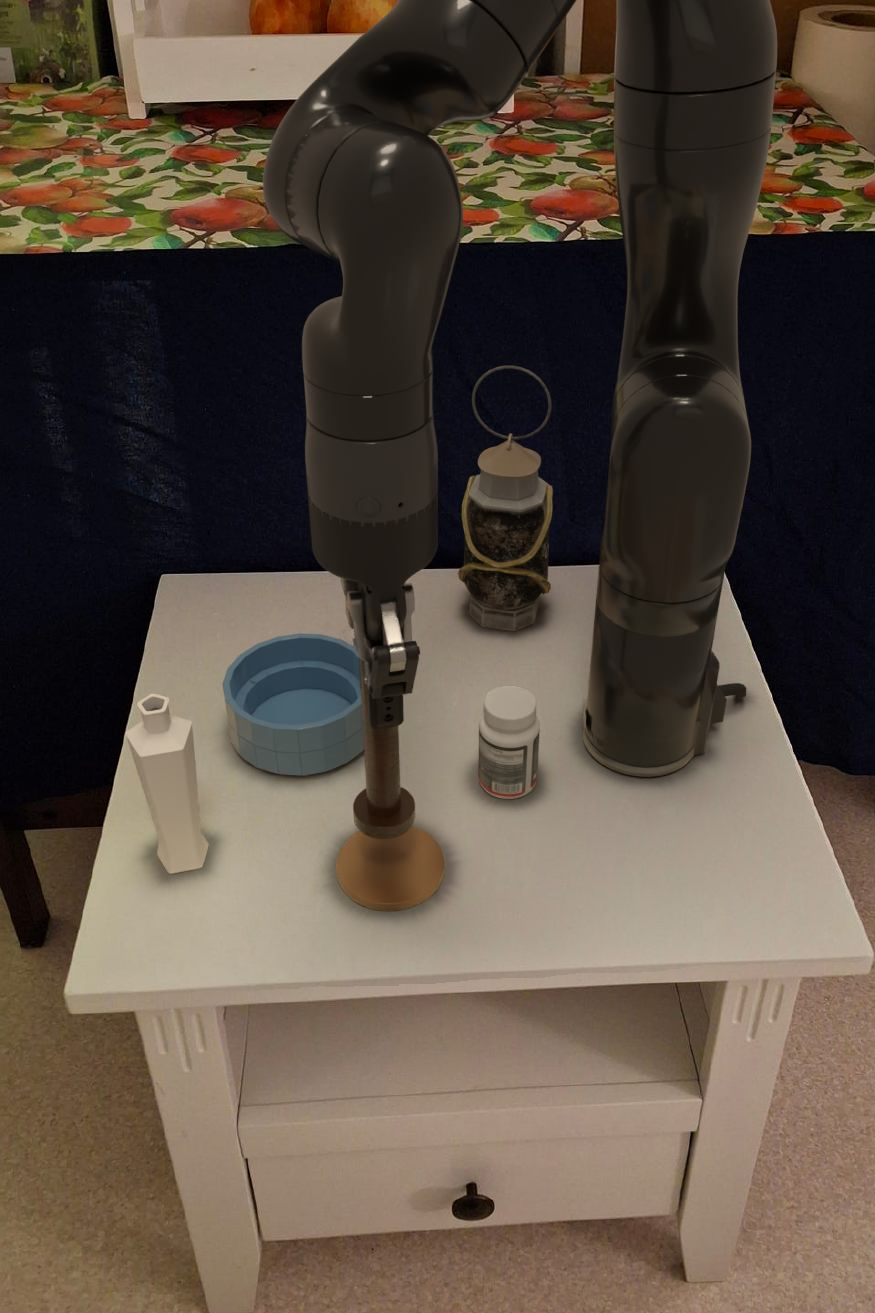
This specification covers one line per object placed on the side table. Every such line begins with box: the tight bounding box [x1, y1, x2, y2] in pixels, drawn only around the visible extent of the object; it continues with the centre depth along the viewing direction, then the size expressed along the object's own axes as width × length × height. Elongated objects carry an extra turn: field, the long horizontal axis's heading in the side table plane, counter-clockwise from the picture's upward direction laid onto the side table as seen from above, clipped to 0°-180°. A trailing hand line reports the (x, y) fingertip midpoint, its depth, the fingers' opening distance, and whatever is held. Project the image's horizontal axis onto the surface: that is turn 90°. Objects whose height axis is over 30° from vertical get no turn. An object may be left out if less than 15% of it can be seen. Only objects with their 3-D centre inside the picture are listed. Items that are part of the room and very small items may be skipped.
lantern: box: [457, 365, 554, 632], centre depth 108 cm, size 9×8×25 cm
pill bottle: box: [477, 685, 541, 800], centre depth 95 cm, size 5×5×8 cm
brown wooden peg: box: [352, 658, 416, 839], centre depth 83 cm, size 4×4×15 cm
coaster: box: [335, 825, 446, 912], centre depth 90 cm, size 8×8×1 cm
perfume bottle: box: [124, 693, 210, 874], centre depth 87 cm, size 5×4×15 cm
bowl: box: [222, 632, 364, 776], centre depth 101 cm, size 12×12×6 cm
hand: (381, 708), depth 81 cm, fingers closed on brown wooden peg, 2 cm apart
